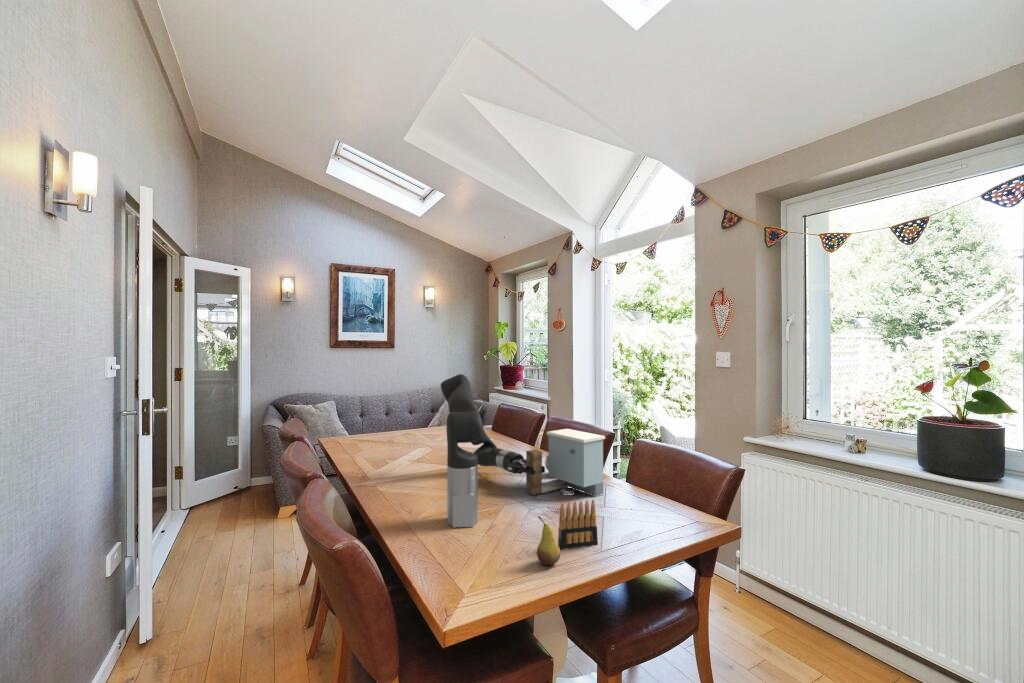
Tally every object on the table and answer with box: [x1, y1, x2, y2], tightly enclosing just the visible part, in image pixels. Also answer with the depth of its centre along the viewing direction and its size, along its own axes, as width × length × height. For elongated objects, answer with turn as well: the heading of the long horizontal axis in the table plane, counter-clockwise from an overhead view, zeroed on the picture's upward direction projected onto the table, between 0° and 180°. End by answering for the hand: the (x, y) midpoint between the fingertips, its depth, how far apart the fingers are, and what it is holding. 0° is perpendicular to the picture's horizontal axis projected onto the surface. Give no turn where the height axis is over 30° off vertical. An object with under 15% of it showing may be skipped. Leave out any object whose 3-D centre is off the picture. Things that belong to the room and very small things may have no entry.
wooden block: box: [525, 449, 566, 496], centre depth 170 cm, size 4×16×15 cm, turn 128°
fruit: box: [536, 515, 561, 566], centre depth 113 cm, size 6×6×12 cm
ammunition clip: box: [557, 499, 599, 550], centre depth 123 cm, size 11×2×12 cm, turn 104°
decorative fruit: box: [544, 454, 549, 472], centre depth 189 cm, size 9×8×10 cm
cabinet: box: [546, 428, 606, 497], centre depth 169 cm, size 19×12×21 cm, turn 38°
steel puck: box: [560, 487, 575, 495], centre depth 167 cm, size 5×5×2 cm
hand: (539, 470), depth 164 cm, fingers closed on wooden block, 4 cm apart
